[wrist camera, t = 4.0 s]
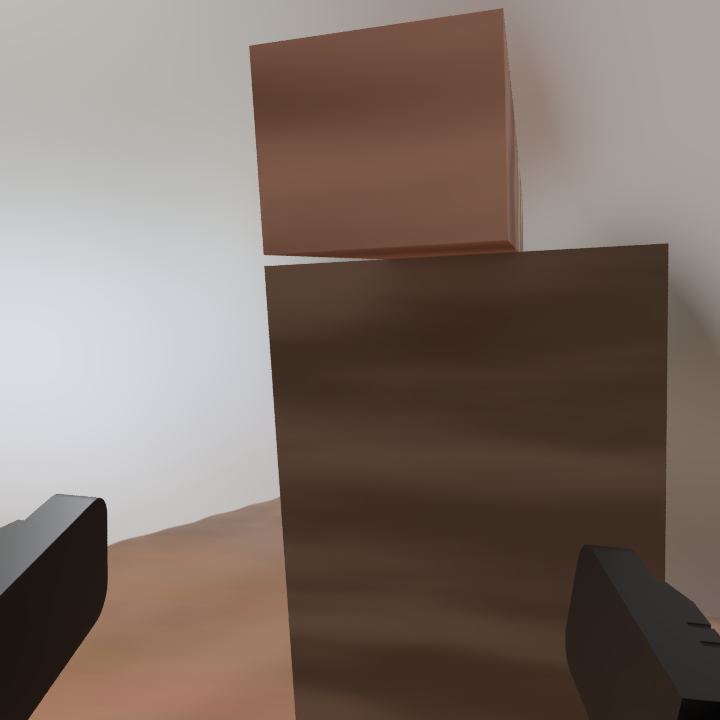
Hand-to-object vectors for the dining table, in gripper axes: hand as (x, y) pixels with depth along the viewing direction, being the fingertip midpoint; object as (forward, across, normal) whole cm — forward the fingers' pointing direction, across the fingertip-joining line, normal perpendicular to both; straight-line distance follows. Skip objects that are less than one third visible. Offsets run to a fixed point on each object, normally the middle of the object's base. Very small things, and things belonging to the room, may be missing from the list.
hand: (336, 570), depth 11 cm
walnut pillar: (+13, -8, +27) cm, 31 cm away
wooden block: (+11, -3, -5) cm, 13 cm away
